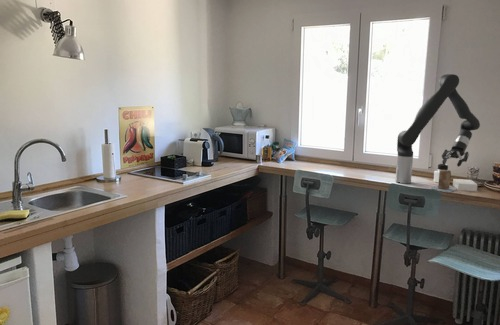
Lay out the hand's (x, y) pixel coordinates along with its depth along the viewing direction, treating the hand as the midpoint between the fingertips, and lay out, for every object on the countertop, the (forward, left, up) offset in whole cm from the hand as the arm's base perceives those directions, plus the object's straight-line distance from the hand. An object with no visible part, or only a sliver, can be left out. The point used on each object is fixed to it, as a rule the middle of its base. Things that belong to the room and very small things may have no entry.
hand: (450, 164), depth 240 cm
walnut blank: (-4, -5, -14) cm, 15 cm away
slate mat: (-4, -6, -14) cm, 16 cm away
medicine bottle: (-1, +15, -14) cm, 21 cm away
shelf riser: (+9, +1, -14) cm, 17 cm away
